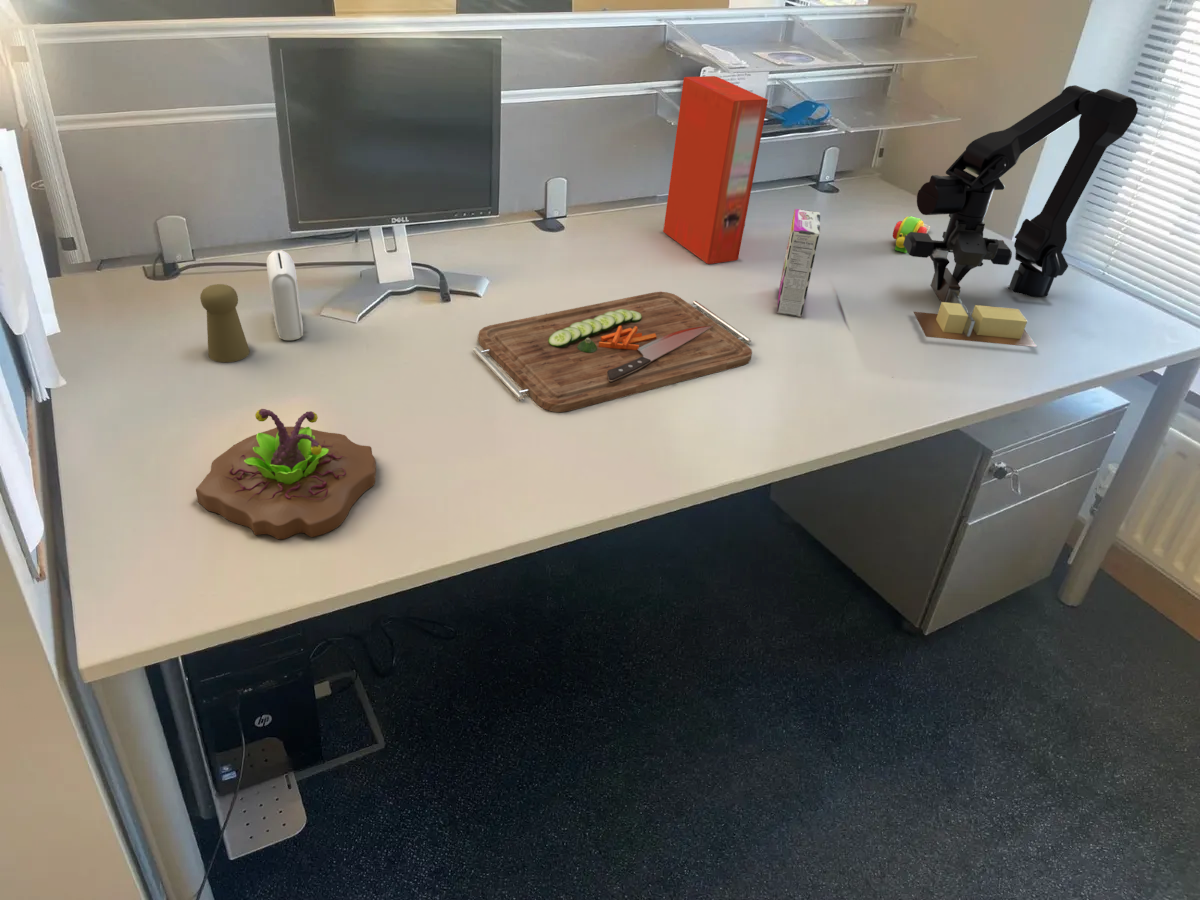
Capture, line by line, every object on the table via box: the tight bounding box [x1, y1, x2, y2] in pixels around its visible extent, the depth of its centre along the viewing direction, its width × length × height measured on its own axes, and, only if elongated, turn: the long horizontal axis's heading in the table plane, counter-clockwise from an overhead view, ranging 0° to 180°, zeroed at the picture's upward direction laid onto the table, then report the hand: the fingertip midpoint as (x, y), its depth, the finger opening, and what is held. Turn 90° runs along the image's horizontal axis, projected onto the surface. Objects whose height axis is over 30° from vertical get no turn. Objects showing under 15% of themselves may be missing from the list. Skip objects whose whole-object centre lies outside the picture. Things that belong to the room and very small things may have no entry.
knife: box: [930, 267, 975, 337], centre depth 168 cm, size 2×22×4 cm, turn 178°
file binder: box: [662, 75, 769, 265], centre depth 181 cm, size 8×17×32 cm, turn 28°
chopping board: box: [472, 291, 753, 413], centre depth 150 cm, size 45×27×3 cm, turn 122°
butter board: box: [913, 311, 1038, 348], centre depth 165 cm, size 20×10×1 cm, turn 87°
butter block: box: [971, 304, 1028, 339], centre depth 164 cm, size 8×5×4 cm, turn 87°
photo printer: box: [266, 249, 304, 341], centre depth 145 cm, size 10×4×12 cm, turn 20°
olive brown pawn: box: [199, 283, 251, 363], centre depth 137 cm, size 6×6×11 cm
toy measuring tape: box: [892, 215, 931, 254], centre depth 200 cm, size 6×20×7 cm, turn 145°
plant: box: [195, 408, 377, 540], centre depth 111 cm, size 20×20×11 cm
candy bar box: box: [776, 208, 821, 318], centre depth 166 cm, size 11×5×16 cm, turn 168°
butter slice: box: [936, 301, 968, 334], centre depth 164 cm, size 4×5×4 cm
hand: (943, 290), depth 174 cm, fingers closed on knife, 2 cm apart
